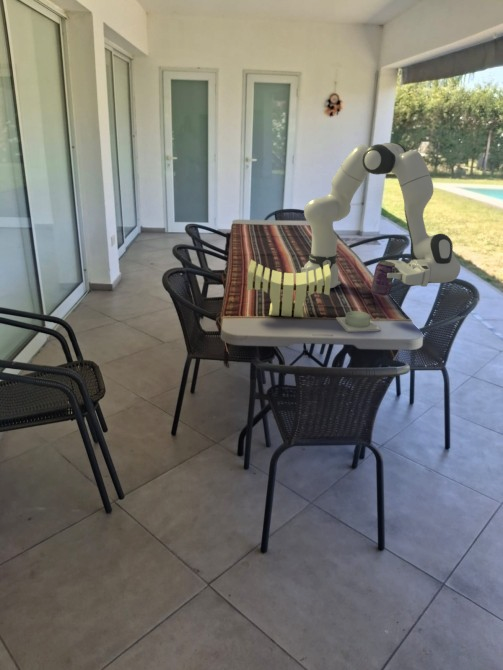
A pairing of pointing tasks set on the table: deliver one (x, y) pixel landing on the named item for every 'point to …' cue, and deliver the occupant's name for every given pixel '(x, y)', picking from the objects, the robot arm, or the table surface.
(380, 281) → the beverage can
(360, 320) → the pedestal stand
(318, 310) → the table surface
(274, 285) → the slatted curved stool
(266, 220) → the table surface
